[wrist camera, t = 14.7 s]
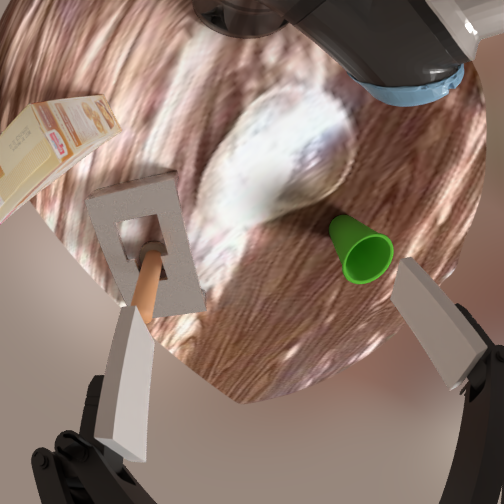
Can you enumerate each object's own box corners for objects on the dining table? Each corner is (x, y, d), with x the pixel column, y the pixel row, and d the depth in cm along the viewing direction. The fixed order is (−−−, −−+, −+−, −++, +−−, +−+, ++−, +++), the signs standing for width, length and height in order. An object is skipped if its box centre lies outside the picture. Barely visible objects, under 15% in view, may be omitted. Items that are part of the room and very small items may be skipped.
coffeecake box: (103, 92, 31) (29, 100, 15) (124, 131, 35) (62, 164, 19) (35, 147, 33) (-42, 191, 16) (55, 181, 37) (-14, 240, 20)
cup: (365, 238, 51) (394, 271, 42) (323, 255, 52) (346, 292, 42) (359, 197, 46) (392, 225, 37) (312, 214, 47) (338, 247, 38)
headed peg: (136, 243, 45) (115, 303, 32) (165, 238, 45) (152, 298, 33) (145, 268, 48) (130, 330, 35) (173, 264, 48) (164, 327, 36)
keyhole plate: (94, 190, 39) (84, 200, 35) (177, 170, 40) (174, 179, 36) (137, 304, 52) (133, 320, 48) (206, 294, 53) (206, 310, 49)
